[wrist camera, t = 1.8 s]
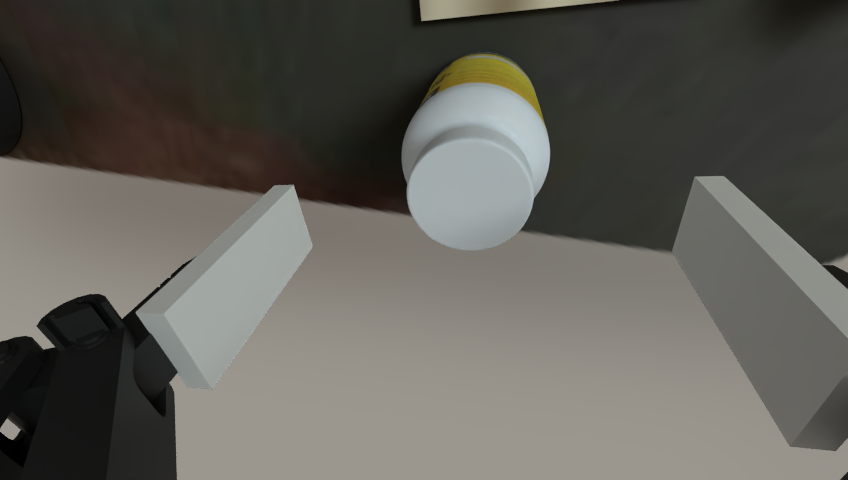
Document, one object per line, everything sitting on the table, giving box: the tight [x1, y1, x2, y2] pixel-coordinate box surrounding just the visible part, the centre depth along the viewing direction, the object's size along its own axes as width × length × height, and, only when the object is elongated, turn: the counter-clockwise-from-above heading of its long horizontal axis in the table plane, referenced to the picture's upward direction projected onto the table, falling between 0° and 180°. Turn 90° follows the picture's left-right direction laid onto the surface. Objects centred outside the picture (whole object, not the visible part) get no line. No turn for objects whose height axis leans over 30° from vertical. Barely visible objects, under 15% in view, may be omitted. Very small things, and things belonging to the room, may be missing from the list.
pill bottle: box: [402, 52, 550, 251], centre depth 19 cm, size 6×6×12 cm
